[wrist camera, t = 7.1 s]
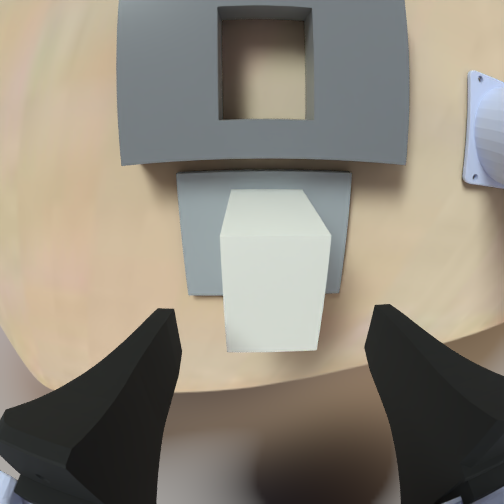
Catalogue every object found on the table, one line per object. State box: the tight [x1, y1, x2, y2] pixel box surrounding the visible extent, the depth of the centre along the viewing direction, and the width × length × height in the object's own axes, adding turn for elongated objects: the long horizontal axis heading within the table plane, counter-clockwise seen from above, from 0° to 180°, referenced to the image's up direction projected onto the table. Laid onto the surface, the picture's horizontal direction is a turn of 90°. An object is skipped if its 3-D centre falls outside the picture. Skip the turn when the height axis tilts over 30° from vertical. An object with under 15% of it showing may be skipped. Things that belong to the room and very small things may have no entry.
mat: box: [176, 169, 352, 295], centre depth 19 cm, size 10×8×1 cm
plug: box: [220, 189, 331, 352], centre depth 15 cm, size 4×6×7 cm
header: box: [116, 0, 409, 166], centre depth 14 cm, size 15×10×2 cm, turn 91°
